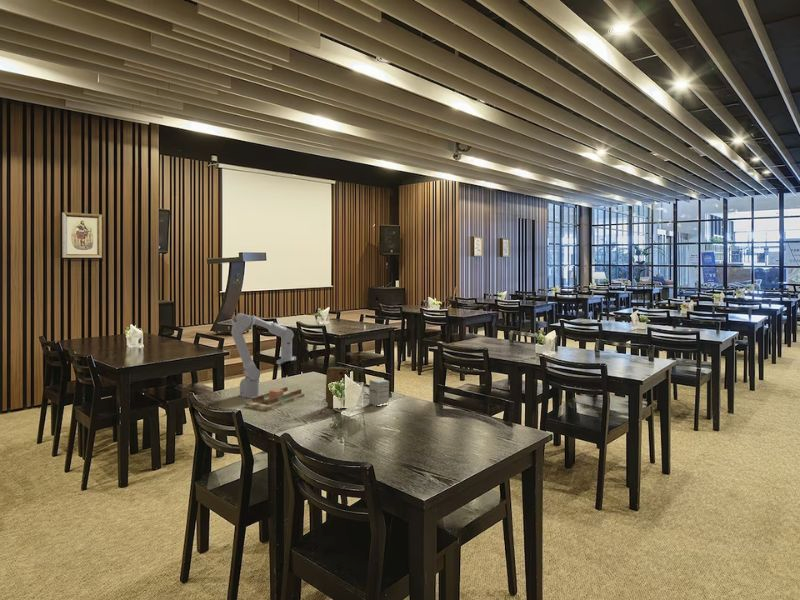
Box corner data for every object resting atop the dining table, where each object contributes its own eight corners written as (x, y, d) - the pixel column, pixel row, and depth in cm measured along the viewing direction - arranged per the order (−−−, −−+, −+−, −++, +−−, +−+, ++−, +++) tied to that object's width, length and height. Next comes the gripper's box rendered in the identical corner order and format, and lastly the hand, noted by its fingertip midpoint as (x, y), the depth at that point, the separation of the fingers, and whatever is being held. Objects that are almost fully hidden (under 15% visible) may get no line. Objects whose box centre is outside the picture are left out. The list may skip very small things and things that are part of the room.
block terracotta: (269, 398, 257) (269, 390, 257) (275, 396, 261) (275, 388, 261) (277, 400, 255) (277, 392, 254) (283, 397, 259) (283, 390, 259)
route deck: (245, 407, 248) (245, 398, 248) (283, 393, 274) (283, 386, 274) (267, 411, 242) (268, 402, 242) (304, 397, 268) (304, 390, 268)
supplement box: (368, 404, 259) (368, 379, 258) (379, 401, 264) (380, 377, 263) (377, 407, 253) (378, 382, 252) (388, 405, 258) (389, 380, 257)
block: (324, 407, 251) (324, 367, 250) (333, 404, 257) (334, 364, 256) (341, 411, 245) (342, 370, 244) (351, 407, 252) (351, 367, 250)
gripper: (284, 353, 268) (283, 378, 269) (300, 349, 282) (300, 373, 282) (273, 351, 271) (273, 377, 272) (290, 348, 285) (290, 372, 285)
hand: (286, 375), depth 278 cm, fingers closed
